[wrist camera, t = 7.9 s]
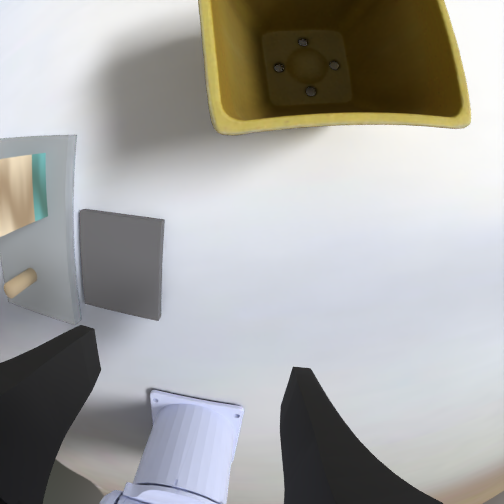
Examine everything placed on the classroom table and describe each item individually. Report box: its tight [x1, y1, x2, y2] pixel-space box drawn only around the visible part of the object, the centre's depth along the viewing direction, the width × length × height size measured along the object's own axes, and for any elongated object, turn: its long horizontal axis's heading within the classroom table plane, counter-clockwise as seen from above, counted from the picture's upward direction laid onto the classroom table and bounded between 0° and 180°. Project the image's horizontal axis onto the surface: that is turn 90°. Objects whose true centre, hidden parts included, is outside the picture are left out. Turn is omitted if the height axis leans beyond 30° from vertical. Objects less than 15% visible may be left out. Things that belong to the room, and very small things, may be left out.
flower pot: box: [198, 0, 471, 135], centre depth 11 cm, size 9×9×9 cm
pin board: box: [0, 135, 81, 325], centre depth 17 cm, size 14×8×4 cm, turn 172°
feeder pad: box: [80, 209, 164, 321], centre depth 19 cm, size 7×6×1 cm
